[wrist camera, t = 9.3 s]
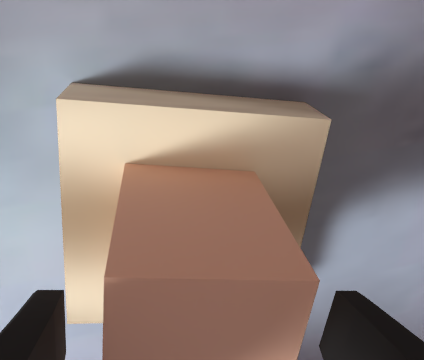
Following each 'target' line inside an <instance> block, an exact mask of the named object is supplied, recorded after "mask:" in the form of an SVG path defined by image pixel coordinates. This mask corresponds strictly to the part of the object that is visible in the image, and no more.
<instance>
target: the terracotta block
mask: <svg viewBox="0 0 424 360" xmlns="http://www.w3.org/2000/svg"><path fill="white" fill-rule="evenodd" d="M319 282H320V280H319V279H318V277H317V275H316V274H315V272H314V270H313V269H312V267H311V265H310V264H309V262H308V260H307V259H306V257H305V255H304V253H303V252H302V250H301V248H300V247H299V245H298V243H297V242H296V240H295V238H294V237H293V235H292V233H291V232H290V230H289V228H288V227H287V225H286V223H285V221H284V220H283V218H282V216H281V215H280V213H279V211H278V210H277V208H276V206H275V205H274V203H273V201H272V200H271V198H270V196H269V195H268V193H267V191H266V190H265V188H264V186H263V184H262V183H261V181H260V179H259V178H258V176H257V174H256V173H255V172H253V171H238V170H223V169H207V168H192V167H177V166H161V165H145V164H129V163H125V166H124V171H123V177H122V182H121V187H120V193H119V198H118V204H117V209H116V215H115V220H114V226H113V231H112V236H111V242H110V247H109V253H108V258H107V264H106V269H105V274H104V302H103V359H102V360H297V358H298V354H299V351H300V347H301V344H302V341H303V337H304V334H305V330H306V327H307V323H308V320H309V316H310V313H311V309H312V306H313V303H314V299H315V296H316V292H317V289H318V285H319Z"/></svg>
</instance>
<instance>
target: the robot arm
mask: <svg viewBox="0 0 424 360" xmlns="http://www.w3.org/2000/svg"><path fill="white" fill-rule="evenodd" d="M319 347H320V350H321V354H322V357H323V360H424V342H423V341H422V340H421V339H419V338H418V337H417V336H415V335H414V334H413V333H411V332H410V331H409V330H408V329H406V328H405V327H404V326H402V325H401V324H400V323H399V322H397V321H396V320H395V319H393V318H392V317H391V316H390V315H388V314H387V313H386V312H384V311H383V310H382V309H380V308H379V307H378V306H377V305H375V304H374V303H373V302H371V301H370V300H369V299H367V298H366V297H364V296H363V295H361V294H360V293H359V292H357V291H336V293H335V296H334V299H333V303H332V306H331V309H330V312H329V316H328V319H327V322H326V325H325V328H324V332H323V335H322V338H321V341H320V345H319ZM65 355H66V338H65V310H64V290H37V291H36V292H35V293H33V294H32V295H31V297H30V298H29V299H28V300H27V302H26V303H25V304H24V305H23V307H22V308H21V309H20V310H19V311H18V313H17V314H16V315H15V316H14V317H13V319H12V320H11V321H10V322H9V323H8V324H7V326H6V327H5V328H4V329H3V330H2V331H1V333H0V360H65Z"/></svg>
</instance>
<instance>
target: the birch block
mask: <svg viewBox="0 0 424 360" xmlns="http://www.w3.org/2000/svg"><path fill="white" fill-rule="evenodd" d="M56 105H57V125H58V145H59V166H60V186H61V206H62V227H63V247H64V267H65V288H66V308H67V324H82V323H103V302H104V274H105V269H106V264H107V258H108V253H109V247H110V242H111V236H112V231H113V226H114V220H115V215H116V209H117V204H118V198H119V193H120V187H121V182H122V177H123V171H124V166H125V163H129V164H145V165H161V166H177V167H192V168H207V169H223V170H238V171H253V172H255V173H256V174H257V176H258V178H259V179H260V181H261V183H262V184H263V186H264V188H265V190H266V191H267V193H268V195H269V196H270V198H271V200H272V201H273V203H274V205H275V206H276V208H277V210H278V211H279V213H280V215H281V216H282V218H283V220H284V221H285V223H286V225H287V227H288V228H289V230H290V232H291V233H292V235H293V237H294V238H295V240H296V242H297V243H298V245H299V247H301V243H302V239H303V235H304V231H305V227H306V223H307V218H308V214H309V210H310V206H311V202H312V198H313V194H314V190H315V186H316V182H317V177H318V173H319V169H320V165H321V161H322V157H323V153H324V149H325V145H326V140H327V136H328V132H329V128H330V124H331V119H330V118H328V117H327V116H325V115H324V114H322V113H321V112H319V111H318V110H316V109H315V108H313V107H312V106H310V105H309V104H307V103H305V102H295V101H283V100H271V99H259V98H248V97H236V96H224V95H212V94H200V93H188V92H176V91H164V90H152V89H141V88H129V87H117V86H105V85H93V84H81V83H71V84H70V85H69V86H68V87H67V88H66V89H65V90H64V91H63V92H62V93H61V94H60V95H59V96H58V97H57V98H56Z"/></svg>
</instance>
